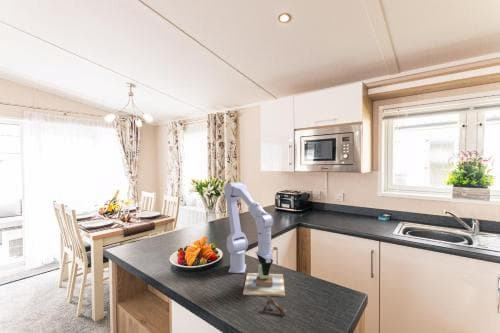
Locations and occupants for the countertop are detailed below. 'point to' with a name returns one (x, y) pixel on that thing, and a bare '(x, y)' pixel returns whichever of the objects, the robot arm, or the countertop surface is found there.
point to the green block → (261, 272)
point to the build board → (264, 292)
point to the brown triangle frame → (274, 305)
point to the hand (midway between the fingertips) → (264, 272)
